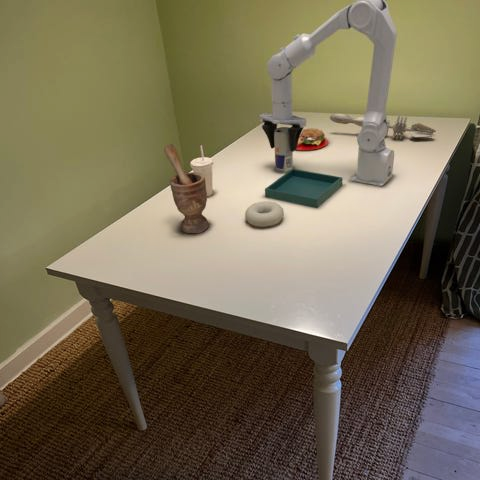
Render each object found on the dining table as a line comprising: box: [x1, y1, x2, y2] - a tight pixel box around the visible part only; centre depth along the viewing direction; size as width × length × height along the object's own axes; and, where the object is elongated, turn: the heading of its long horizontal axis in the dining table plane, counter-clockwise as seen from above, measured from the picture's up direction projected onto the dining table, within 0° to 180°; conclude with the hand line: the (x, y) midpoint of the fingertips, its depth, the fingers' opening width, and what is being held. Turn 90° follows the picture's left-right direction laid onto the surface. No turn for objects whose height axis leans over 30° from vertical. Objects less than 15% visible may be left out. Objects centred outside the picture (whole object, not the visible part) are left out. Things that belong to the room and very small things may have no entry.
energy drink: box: [274, 126, 294, 174], centre depth 144 cm, size 5×5×12 cm
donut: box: [244, 200, 285, 228], centre depth 123 cm, size 10×4×10 cm
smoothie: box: [190, 145, 214, 197], centre depth 135 cm, size 6×6×14 cm
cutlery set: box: [329, 113, 437, 140], centre depth 159 cm, size 8×35×8 cm
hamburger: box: [295, 127, 329, 151], centre depth 161 cm, size 14×14×6 cm
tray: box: [264, 168, 344, 209], centre depth 134 cm, size 16×15×2 cm
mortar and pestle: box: [163, 143, 210, 234], centre depth 119 cm, size 12×9×20 cm
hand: (283, 148), depth 144 cm, fingers open, 6 cm apart
